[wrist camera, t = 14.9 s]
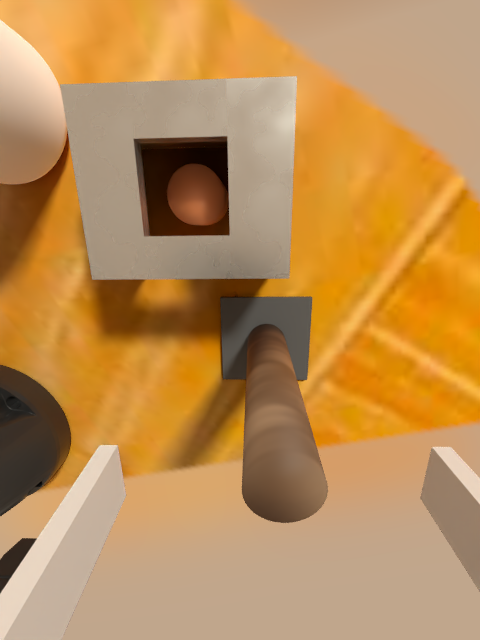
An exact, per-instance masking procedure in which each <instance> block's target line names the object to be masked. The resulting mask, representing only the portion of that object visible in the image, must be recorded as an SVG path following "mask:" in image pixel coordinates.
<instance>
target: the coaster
mask: <svg viewBox="0 0 480 640" xmlns="http://www.w3.org/2000/svg"><path fill="white" fill-rule="evenodd" d="M220 301H221V330H222V360H223V379H246V372H247V346H248V336H249V334H250V332H251V331H252V330H253V329H254V328H255V327H256V326H258V325H261V324H272V325H275V326H277V327H278V328H279V329H280V330H281V331H282V332H283V334H284V337H285V340H286V344H287V347H288V351H289V354H290V358H291V361H292V364H293V368H294V371H295V375H296V378H297V380H307V373H308V357H309V342H310V326H311V310H312V297H221V298H220Z"/></svg>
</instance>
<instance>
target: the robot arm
mask: <svg viewBox="0 0 480 640" xmlns="http://www.w3.org/2000/svg"><path fill="white" fill-rule="evenodd" d="M70 442H71V436H70V429H69V425H68V422H67V419H66V416H65V414H64V412H63V410H62V409H61V407H60V405H59V404H58V403H57V401H56V400H55V399H54V398H53V396H52V395H51V394H50V393H49V392H48V391H47V390H46V389H45V388H44V387H42V386H41V385H40V384H39V383H37V382H36V381H35V380H33V379H32V378H30V377H29V376H27V375H25V374H23V373H21V372H19V371H17V370H15V369H12V368H9V367H6V366H3V365H0V516H2V515H3V514H4V513H6V512H7V511H9V510H10V509H11V508H13V507H14V506H16V505H17V504H18V503H20V502H21V501H22V500H23V499H25V497H27V496H29V495H31V494H33V493H34V492H36V491H37V490H39V489H40V488H41V487H43V486H44V485H45V484H46V483H47V482H48V481H49V480H50V479H51V478H52V476H53V475H54V474H55V473H56V471H57V470H58V469H59V468H60V466H61V465H62V464H63V463H64V461H65V459H66V457H67V455H68V452H69V449H70ZM125 497H126V491H125V486H124V480H123V474H122V468H121V462H120V456H119V450H118V445H100V446H99V447H98V449H97V450H96V452H95V453H94V455H93V456H92V458H91V459H90V461H89V462H88V463H87V465H86V466H85V468H84V469H83V471H82V472H81V474H80V475H79V477H78V478H77V480H76V481H75V483H74V484H73V486H72V487H71V489H70V490H69V492H68V493H67V495H66V496H65V498H64V499H63V501H62V502H61V504H60V505H59V507H58V508H57V510H56V511H55V513H54V514H53V516H52V517H51V519H50V520H49V522H48V523H47V525H46V526H45V528H44V529H43V531H42V532H41V534H40V535H39V537H38V538H37V539H30V538H29V539H28V538H26V539H25V538H22V539H21V540H20V541H19V542H18V543H17V544H15V545H14V546H13V547H12V548H11V549H10V550H9V551H8V552H7V553H6V554H4V555H3V557H2V558H1V560H0V640H61V639H62V637H63V635H64V633H65V630H66V628H67V626H68V624H69V622H70V619H71V617H72V615H73V613H74V611H75V608H76V606H77V604H78V602H79V599H80V597H81V595H82V593H83V590H84V588H85V586H86V584H87V582H88V579H89V577H90V575H91V572H92V570H93V568H94V566H95V564H96V561H97V559H98V557H99V555H100V552H101V550H102V548H103V546H104V543H105V541H106V539H107V537H108V534H109V532H110V530H111V528H112V526H113V523H114V521H115V519H116V517H117V515H118V512H119V510H120V508H121V506H122V503H123V501H124V499H125ZM421 500H422V501H423V503H424V505H425V506H426V508H427V509H428V511H429V513H430V514H431V516H432V517H433V519H434V520H435V522H436V524H437V525H438V526H439V528H440V530H441V532H442V533H443V535H444V536H445V538H446V539H447V541H448V542H449V544H450V545H451V547H452V549H453V550H454V552H455V553H456V555H457V557H458V558H459V560H460V561H461V563H462V565H463V566H464V568H465V569H466V571H467V572H468V574H469V576H470V577H471V579H472V580H473V582H474V583H475V585H476V587H477V588H478V590H479V591H480V478H479V477H478V476H477V475H476V474H475V473H474V472H473V471H472V470H471V468H470V467H468V465H467V464H466V463H465V462H464V461H463V460H462V459H461V458H460V457H459V455H457V453H456V452H455V451H454V450H453V449H452V448H451V447H432V449H431V454H430V458H429V462H428V467H427V471H426V475H425V480H424V484H423V489H422V493H421Z"/></svg>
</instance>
